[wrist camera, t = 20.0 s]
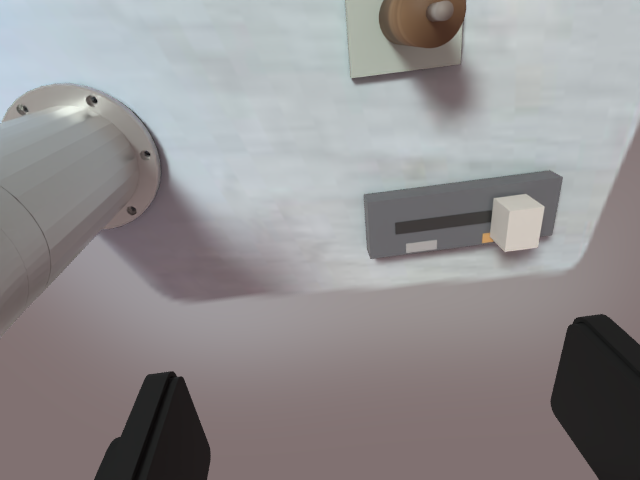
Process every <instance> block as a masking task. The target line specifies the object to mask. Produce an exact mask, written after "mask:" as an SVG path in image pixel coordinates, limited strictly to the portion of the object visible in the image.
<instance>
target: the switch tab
mask: <svg viewBox="0 0 640 480" xmlns="http://www.w3.org/2000/svg"><path fill="white" fill-rule="evenodd" d="M544 208H545V207H544V206H543V205H542V204H540V203H539V202H537V201H536V200H534V199H533V198H531V197H530V196H528V195H527V194H522V195H514V196H506V197H498V198H494V200H493V210H492V219H491V229H490V237H491V238H492V239H493V241H494V242H495V243H496V244H497V245H498V246H499V247H500V248H501V249H502V250H503V251H504V252H508V251H516V250H524V249H531V248H538V244H539V238H540V232H541V226H542V220H543V214H544Z"/></svg>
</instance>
